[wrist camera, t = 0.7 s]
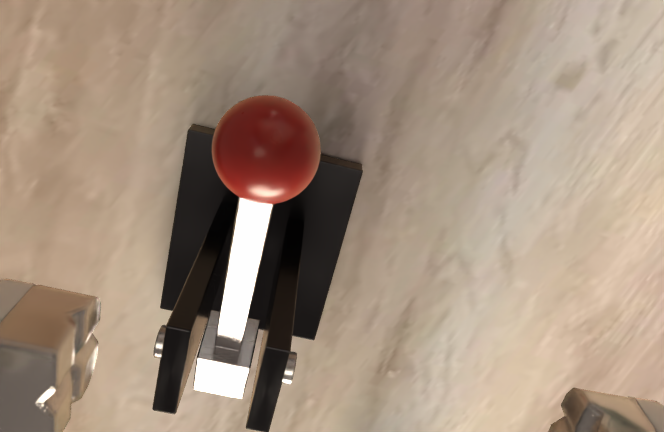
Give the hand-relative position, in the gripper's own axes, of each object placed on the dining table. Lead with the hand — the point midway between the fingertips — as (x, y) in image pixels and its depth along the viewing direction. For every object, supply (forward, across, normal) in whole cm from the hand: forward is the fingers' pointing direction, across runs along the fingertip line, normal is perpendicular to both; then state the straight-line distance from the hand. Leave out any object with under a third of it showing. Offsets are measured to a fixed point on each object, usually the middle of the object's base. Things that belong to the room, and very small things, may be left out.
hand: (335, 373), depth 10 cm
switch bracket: (+25, +2, +11) cm, 28 cm away
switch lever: (+12, +2, +4) cm, 13 cm away
